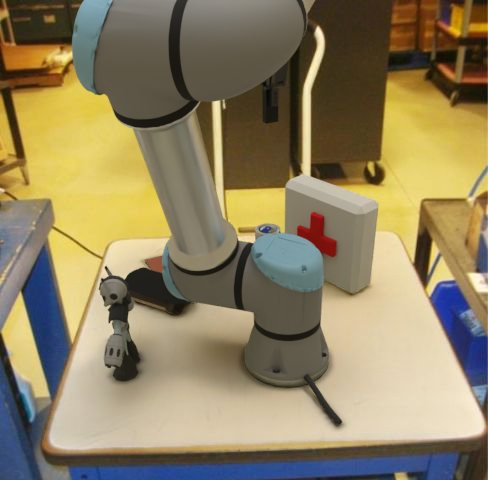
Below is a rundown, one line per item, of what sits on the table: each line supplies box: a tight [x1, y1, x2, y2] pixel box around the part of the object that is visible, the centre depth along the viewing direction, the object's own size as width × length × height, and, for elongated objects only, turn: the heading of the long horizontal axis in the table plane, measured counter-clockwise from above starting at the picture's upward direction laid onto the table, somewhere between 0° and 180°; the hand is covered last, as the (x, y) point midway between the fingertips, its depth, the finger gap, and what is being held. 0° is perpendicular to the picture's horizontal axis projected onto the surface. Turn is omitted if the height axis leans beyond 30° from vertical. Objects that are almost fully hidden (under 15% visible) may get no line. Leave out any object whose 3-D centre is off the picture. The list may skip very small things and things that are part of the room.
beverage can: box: [254, 222, 282, 242], centre depth 127 cm, size 5×5×15 cm
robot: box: [98, 265, 141, 382], centre depth 106 cm, size 20×5×20 cm, turn 2°
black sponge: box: [124, 266, 190, 315], centre depth 129 cm, size 16×8×4 cm, turn 59°
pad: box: [144, 255, 163, 273], centre depth 144 cm, size 8×20×1 cm, turn 116°
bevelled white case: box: [284, 173, 379, 295], centre depth 130 cm, size 21×8×20 cm, turn 42°
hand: (270, 121), depth 121 cm, fingers closed
